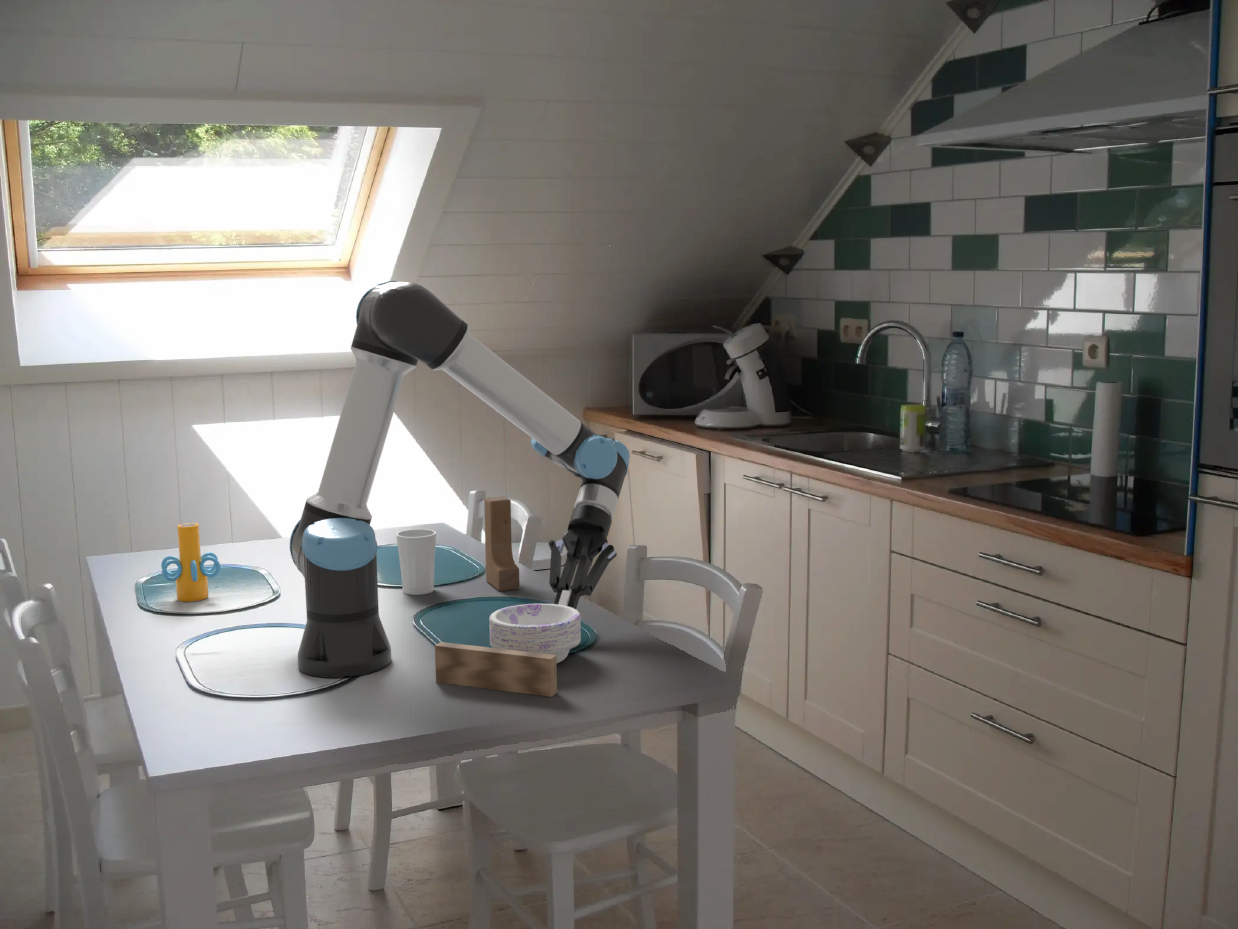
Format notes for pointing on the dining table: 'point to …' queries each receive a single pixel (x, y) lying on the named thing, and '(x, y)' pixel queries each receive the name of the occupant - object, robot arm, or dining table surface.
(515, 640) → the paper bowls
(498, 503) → the wooden block
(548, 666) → the rail
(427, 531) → the cup
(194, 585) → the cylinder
